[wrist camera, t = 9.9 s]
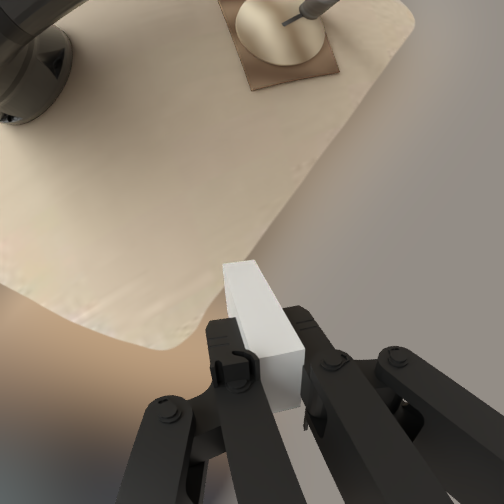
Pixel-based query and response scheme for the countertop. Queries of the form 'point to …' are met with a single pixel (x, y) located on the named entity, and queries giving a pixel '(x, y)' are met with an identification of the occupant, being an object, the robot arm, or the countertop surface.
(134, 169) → the countertop surface
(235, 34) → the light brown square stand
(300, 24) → the disc with grey post
